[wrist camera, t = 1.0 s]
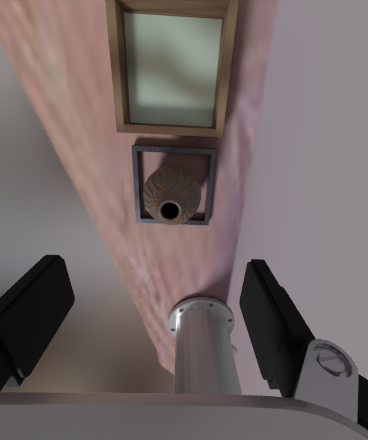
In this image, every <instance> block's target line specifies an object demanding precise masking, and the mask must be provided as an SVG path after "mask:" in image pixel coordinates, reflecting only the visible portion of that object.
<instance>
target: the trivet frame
mask: <svg viewBox="0 0 368 440" xmlns="http://www.w3.org/2000/svg"><path fill="white" fill-rule="evenodd" d="M139 151H146V152H167V153H188V154H208V155H210V162H209V172H208V182H207V192H206V202H205V212H204V218H190V219H189V220H187V221H185V222H183V223H181V224H189V225H208V224H209V215H210V205H211V196H212V187H213V178H214V169H215V160H216V151H217V150H216V149H206V148H186V147H166V146H145V145H132V160H133V176H134V192H135V209H136V222H138V223H161V222H159V221H157V220H156V219H154V218H153V217H152V216H142V213H141V192H140V171H139Z"/></svg>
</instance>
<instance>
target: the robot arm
mask: <svg viewBox="0 0 368 440" xmlns="http://www.w3.org/2000/svg"><path fill="white" fill-rule="evenodd" d="M74 299H75V297H74V293H73V290H72V286H71V282H70V279H69V275H68V272H67V268H66V265H65V261H64V259H63V258H61V257H60V256H59V255H46V256H44V257H43V258H42V259H41V260H40V261H39V262H37V263H36V264H35V265H34V266H33V267H32V268H31V269H30V270H29V271H28V272H27V273H26V274H25V275H24V276H23V277H21V278H20V279H19V280H18V281H17V282H16V283H15V284H14V285H13V286H12V287H11V288H10V289H9V290H8V291H7V292H6V293H5V294H4V295H3V296H1V298H0V391H1V390H2V388H3V387H4V385H5V386H6V387H19V386H20V385H21V384H22V382H23V380H24V379H25V377H28V376H29V375H30V374H31V372H32V371H33V369H34V368H35V366H36V364H37V363H38V361H39V359H40V358H41V356H42V354H43V353H44V351H45V350H46V348H47V346H48V345H49V343H50V342H51V339H52V338H53V337H54V335H55V333H56V332H57V330H58V328H59V327H60V325H61V323H62V322H63V320H64V319H65V317H66V315H67V314H68V312H69V310H70V309H71V307H72V306H73V304H74ZM240 308H241V311H242V314H243V318H244V321H245V324H246V327H247V330H248V334H249V337H250V340H251V343H252V346H253V349H254V352H255V356H256V359H257V362H258V365H259V368H260V372H261V375H262V377H263V379H264V380H267V381H268V385H269V388H270V389H279V390H280V392H281V395H282V397H273V396H253V395H242V391H241V387H240V382H239V378H238V373H237V369H236V364H235V360H234V354H236V353H237V348H236V347H235V346H234V345H232V344H231V339H230V335H229V334H230V333H231V331H232V329H233V327H234V317H233V313H232V311H231V310H230V308H229V307H228V306H227V305H226V304H225V303H223V302H221V301H220V300H217V299H214V298H209V297H195V298H190V299H187V300H185V301H182V302H181V303H179V304H177V305H176V306H175V307H174V308H173V309H172V311H171V312H170V314H169V318H168V328H169V331H170V333H171V334H172V335H173V336H174V337H175V338H176V345H175V375H174V394H158V393H156V394H155V393H153V394H152V393H0V440H368V380H367V379H366V378H364V377H362V376H361V375H359V374H358V369H357V367H356V365H355V363H354V361H353V360H352V358H351V357H350V356H349V355H348V354H347V353H346V352H345V351H344V350H343V349H341V348H340V347H339V346H337V345H335V344H334V343H332V342H329V341H327V340H322V339H315V337H314V335H313V334H312V332H311V331H310V329H309V327H308V326H307V325H306V323H305V321H304V319H303V318H302V316H301V314H300V313H299V311H298V310H297V308H296V306H295V305H294V303H293V302H292V300H291V299H290V297H289V295H288V294H287V292H286V291H285V289H284V288H283V287H281V286H280V285H279V284H278V282H277V280H276V279H275V277H274V275H273V274H272V272H271V270H270V269H269V267H268V265H267V264H266V262H265V261H264V260H259V259H252V260H251V262H248V263H247V268H246V273H245V277H244V282H243V286H242V292H241V296H240Z"/></svg>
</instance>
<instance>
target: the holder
mask: <svg viewBox="0 0 368 440" xmlns="http://www.w3.org/2000/svg"><path fill="white" fill-rule="evenodd" d="M105 2H106V14H107V25H108V36H109V48H110V59H111V70H112V82H113V93H114V104H115V115H116V127H117V132H126V133H146V134H165V135H185V136H205V137H223V129H224V121H225V113H226V104H227V96H228V87H229V79H230V71H231V62H232V54H233V46H234V37H235V29H236V21H237V12H238V4H239V0H105Z"/></svg>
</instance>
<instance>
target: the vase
mask: <svg viewBox="0 0 368 440" xmlns="http://www.w3.org/2000/svg"><path fill="white" fill-rule="evenodd" d="M143 198H144V203H145V206H146V209H147V210H148V212H149V213H150V215H151V216H152V217H153V218H154V219H156V220H157V221H159V222H161V223H163V224H167V225H177V224H181V223H183V222H185V221H187V220H189V219H190V218H191V217H192V216H193V215H194V214H195V212H196V211H197V209H198V207H199V204H200V200H201V190H200V186H199V183H198V181H197V179H196V178H195V176H194V175H193V174H192V173H191V172H190V171H189V170H187V169H186V168H184V167H181V166H177V165H167V166H163V167H161V168H159V169H157V170H156V171H155V172H153V173H152V174H151V175H150V177H149V178H148V180H147V182H146V184H145V187H144V192H143Z"/></svg>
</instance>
